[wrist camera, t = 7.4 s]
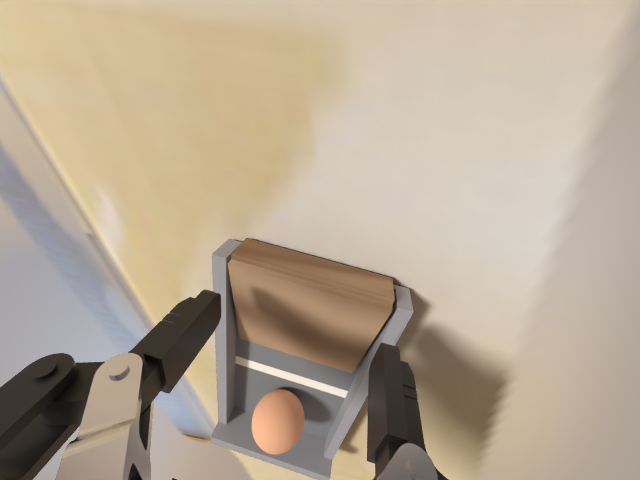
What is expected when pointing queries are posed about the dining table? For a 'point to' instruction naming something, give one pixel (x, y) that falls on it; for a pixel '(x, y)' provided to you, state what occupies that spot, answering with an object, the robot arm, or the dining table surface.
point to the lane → (289, 383)
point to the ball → (278, 421)
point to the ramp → (307, 304)
